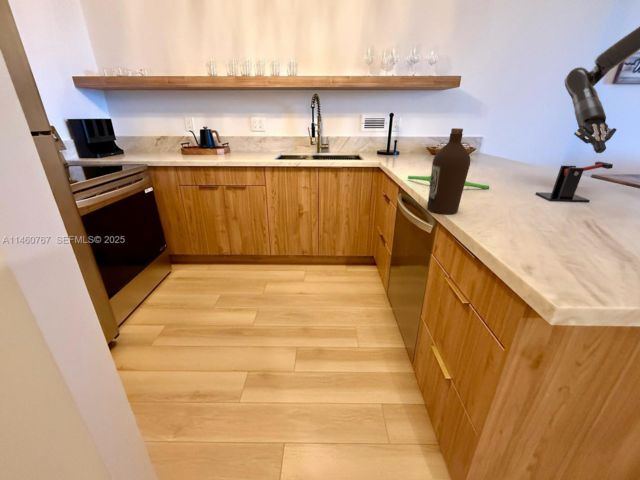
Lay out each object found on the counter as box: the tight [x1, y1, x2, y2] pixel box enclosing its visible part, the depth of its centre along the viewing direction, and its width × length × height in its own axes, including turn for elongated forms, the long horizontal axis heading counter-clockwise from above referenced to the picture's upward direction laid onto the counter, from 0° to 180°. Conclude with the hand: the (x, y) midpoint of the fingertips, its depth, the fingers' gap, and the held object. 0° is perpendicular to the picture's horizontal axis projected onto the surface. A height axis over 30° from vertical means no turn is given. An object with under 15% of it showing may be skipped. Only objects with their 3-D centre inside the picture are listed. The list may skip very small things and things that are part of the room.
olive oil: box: [426, 127, 471, 215], centre depth 89 cm, size 11×11×25 cm
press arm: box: [564, 161, 613, 176], centre depth 100 cm, size 12×6×2 cm, turn 83°
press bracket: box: [534, 165, 591, 204], centre depth 103 cm, size 13×9×12 cm
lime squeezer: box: [407, 175, 490, 190], centre depth 121 cm, size 34×12×6 cm, turn 59°
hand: (601, 151), depth 101 cm, fingers closed
